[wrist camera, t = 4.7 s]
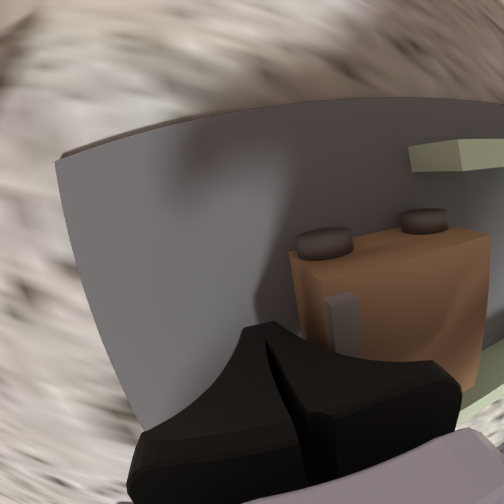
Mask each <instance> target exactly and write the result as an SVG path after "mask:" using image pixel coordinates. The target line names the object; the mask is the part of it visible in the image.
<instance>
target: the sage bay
mask: <svg viewBox="0 0 504 504" xmlns="http://www.w3.org/2000/svg"><path fill="white" fill-rule="evenodd" d="M408 151H409V157H410V163H411V169H412V172H432V171H468V170H477V169H486V168H496V167H504V139H457V140H450V141H442V142H435V143H428V144H422V145H415V146H409V147H408ZM462 394H463V396H462V404H461V409H460V413H459V417H458V420H457V424H456V426H457V425H459V424H460V423H462V422H464V421H465V420H467V419H469V418H470V417H472V416H474V415H475V414H477V413H478V412H480V411H481V410H483V409H484V408H486V407H487V406H489V405H490V404H492V403H493V402H495V401H496V400H498V399H499V398H501V397H502V396H503V395H504V338H503V339H502V340H500V341H498V342H497V343H495V344H493V345H492V346H490V347H488V348H487V349H485V350H483V351H481V355H480V360H479V366H478V371H477V375H476V380H475V384H474V386H473V387H471V388H469V389H468V390H466V391H464V392H462Z"/></svg>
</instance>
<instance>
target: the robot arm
mask: <svg viewBox="0 0 504 504" xmlns="http://www.w3.org/2000/svg"><path fill="white" fill-rule="evenodd" d="M462 396H463V394H462V389H461V385H460V384H459V383H458V382H457V381H456V380H455V379H454V378H453V377H452V376H451V375H450V374H449V373H448V372H447V371H445V370H444V369H443V368H442V367H441V366H439V365H438V364H437V363H436V362H434V361H433V360H424V361H407V362H391V361H376V360H367V359H362V358H356V357H351V356H347V355H343V354H339V353H336V352H333V351H330V350H327V349H324V348H321V347H319V346H317V345H315V344H312V343H310V342H308V341H306V340H304V339H302V338H300V337H299V336H297V335H295V334H294V333H292V332H291V331H289V330H288V329H286V328H285V327H283V326H282V325H280V324H279V323H277V322H276V321H270V322H266V323H262V324H257V325H253V326H248V327H244V328H243V329H242V331H241V335H240V338H239V340H238V343H237V345H236V347H235V350H234V352H233V354H232V356H231V358H230V359H229V361H228V363H227V364H226V366H225V368H224V369H223V371H222V372H221V374H220V375H219V376H218V378H217V379H216V380H215V381H214V383H213V384H212V385H211V386H210V387H209V388H208V389H207V390H206V391H205V392H204V393H203V394H202V395H200V396H199V397H198V398H197V399H196V400H195V401H194V402H193V403H191V404H190V405H189V406H187V407H186V408H185V409H183V410H182V411H180V412H179V413H177V414H176V415H174V416H173V417H171V418H170V419H168V420H166V421H164V422H162V423H161V424H159V425H157V426H155V427H153V428H151V429H149V430H147V431H145V432H143V433H141V435H140V438H139V441H138V443H137V446H136V448H135V451H134V455H133V458H132V462H131V466H130V470H129V475H128V479H127V483H126V486H127V493H128V495H129V497H130V498H131V500H132V501H133V503H134V504H504V443H502V444H501V445H500V446H498V447H497V448H496V447H495V446H494V445H493V444H492V443H491V442H490V441H489V440H488V439H487V438H486V437H485V436H484V435H483V434H482V433H481V432H479V431H476V430H474V429H471V428H469V427H468V428H463V429H459V430H457V431H455V427H456V424H457V420H458V417H459V413H460V409H461V404H462Z"/></svg>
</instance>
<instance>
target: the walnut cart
mask: <svg viewBox="0 0 504 504" xmlns="http://www.w3.org/2000/svg"><path fill="white" fill-rule="evenodd" d="M400 215H401V225H402V227H398V228H394V229H389V230H385V231H380V232H376V233H371V234H367V235H362V236H358V237H353V238H352V232H351V229H349V228H345V227H332V228H323V229H317V230H312V231H308V232H305V233H302V234H300V235H298V236H296V237H295V241H296V247H297V250H295V251H290V252H288V253H289V259H290V265H291V271H292V277H293V283H294V289H295V295H296V302H297V308H298V314H299V321H300V327H301V334H302V339H304V340H306V341H308V342H310V343H312V344H315V345H317V346H319V347H321V348H324V349H327V350H330V351H333V352H336V353H339V354H343V355H347V356H351V357H356V358H362V359H367V360H376V361H391V362H407V361H424V360H433V361H434V362H436V363H437V364H438V365H439V366H441V367H442V368H443V369H444V370H445V371H447V372H448V373H449V374H450V375H451V376H452V377H453V378H454V379H455V380H456V381H457V382H458V383H459V384H460V385H461V389H462V392H464V391H466V390H468V389H469V388H471V387H473V386H474V384H475V380H476V375H477V371H478V366H479V360H480V355H481V349H482V343H483V337H484V330H485V322H486V313H487V303H488V291H489V275H490V234H486V233H482V232H477V231H473V230H469V229H464V228H460V227H455V226H451V225H448V218H447V210H445V209H439V208H424V209H415V210H409V211H406V212H403V213H401V214H400Z"/></svg>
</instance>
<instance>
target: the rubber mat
mask: <svg viewBox="0 0 504 504" xmlns="http://www.w3.org/2000/svg"><path fill="white" fill-rule="evenodd" d="M457 139H504V105H501V104H494V103H485V102H476V101H466V100H453V99H436V98H356V99H338V100H324V101H312V102H302V103H293V104H284V105H276V106H269V107H262V108H255V109H249V110H242V111H237V112H231V113H225V114H220V115H215V116H210V117H205V118H200V119H195V120H191V121H186V122H182V123H178V124H173V125H169V126H165V127H161V128H157V129H153V130H150V131H146V132H142V133H139V134H135V135H132V136H128V137H125V138H121V139H118V140H115V141H112V142H108V143H105V144H102V145H99V146H96V147H93V148H90V149H87V150H84V151H81V152H79V153H76V154H73V155H70V156H68V157H65V158H62V159H60V160H57V161H55V168H56V174H57V180H58V186H59V191H60V197H61V202H62V207H63V211H64V216H65V221H66V225H67V229H68V234H69V238H70V242H71V246H72V249H73V253H74V257H75V260H76V264H77V268H78V271H79V274H80V278H81V281H82V284H83V287H84V291H85V294H86V297H87V300H88V303H89V306H90V309H91V312H92V314H93V317H94V320H95V323H96V326H97V328H98V331H99V334H100V336H101V339H102V341H103V344H104V346H105V349H106V351H107V354H108V356H109V359H110V361H111V363H112V366H113V368H114V370H115V372H116V375H117V377H118V379H119V381H120V384H121V386H122V388H123V390H124V392H125V394H126V396H127V398H128V400H129V403H130V405H131V407H132V409H133V411H134V413H135V414H136V416H137V418H138V420H139V422H140V424H141V426H142V428H143V430H144V432H145V431H147V430H149V429H151V428H153V427H155V426H157V425H159V424H161V423H162V422H164V421H166V420H168V419H170V418H171V417H173V416H174V415H176V414H177V413H179V412H180V411H182V410H183V409H185V408H186V407H187V406H189V405H190V404H191V403H193V402H194V401H195V400H196V399H197V398H198V397H199V396H200V395H202V394H203V393H204V392H205V391H206V390H207V389H208V388H209V387H210V386H211V385H212V384H213V383H214V381H215V380H216V379H217V378H218V376H219V375H220V374H221V372H222V371H223V369H224V368H225V366H226V364H227V363H228V361H229V359H230V358H231V356H232V354H233V352H234V350H235V347H236V345H237V343H238V340H239V338H240V335H241V331H242V329H243V328H244V327H248V326H253V325H257V324H262V323H266V322H270V321H276V322H277V323H279V324H280V325H282V326H283V327H285V328H286V329H288V330H289V331H291V332H292V333H294V334H295V335H297V336H299V337H300V338H302V334H301V327H300V321H299V314H298V308H297V302H296V295H295V289H294V283H293V277H292V271H291V265H290V259H289V253H288V252H290V251H295V250H297V247H296V241H295V237H296V236H298V235H300V234H302V233H305V232H308V231H312V230H317V229H323V228H332V227H345V228H349V229H351V232H352V238H353V237H358V236H362V235H367V234H371V233H376V232H380V231H385V230H389V229H394V228H398V227H402V225H401V215H400V214H401V213H403V212H406V211H409V210H415V209H424V208H439V209H445V210H447V218H448V225H451V226H455V227H460V228H464V229H469V230H473V231H477V232H482V233H486V234H490V275H489V291H488V303H487V313H486V322H485V330H484V337H483V343H482V349H481V351H483V350H485V349H487V348H488V347H490V346H492V345H493V344H495V343H497V342H498V341H500V340H502V339H503V338H504V167H496V168H486V169H477V170H468V171H432V172H412V169H411V163H410V157H409V151H408V147H409V146H415V145H422V144H428V143H435V142H442V141H450V140H457Z"/></svg>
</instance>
